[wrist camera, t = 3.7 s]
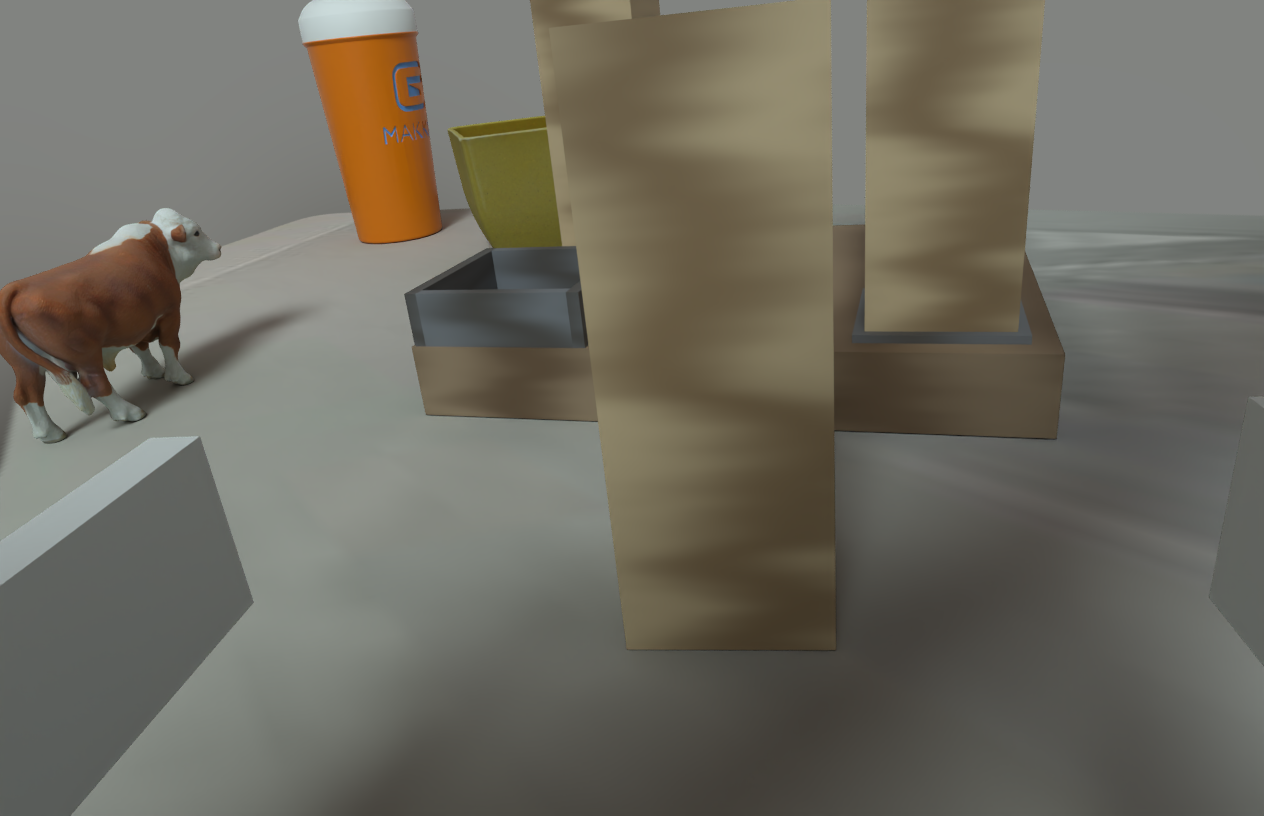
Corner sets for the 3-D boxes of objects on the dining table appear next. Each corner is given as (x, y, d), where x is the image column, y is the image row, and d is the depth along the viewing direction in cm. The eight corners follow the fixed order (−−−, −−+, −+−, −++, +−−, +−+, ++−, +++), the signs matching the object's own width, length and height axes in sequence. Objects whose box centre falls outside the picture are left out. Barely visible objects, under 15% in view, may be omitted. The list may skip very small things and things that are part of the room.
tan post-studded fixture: (1008, 275, 46) (1035, -95, 40) (1056, 438, 29) (1120, -172, 22) (587, 282, 54) (550, -29, 47) (425, 414, 36) (329, -48, 30)
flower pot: (608, 255, 60) (593, 119, 56) (483, 276, 58) (459, 136, 54) (579, 233, 68) (564, 112, 64) (467, 251, 66) (446, 127, 62)
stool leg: (820, 536, 25) (812, 2, 20) (836, 650, 20) (830, -4, 15) (649, 539, 26) (594, 27, 20) (626, 649, 21) (549, 27, 16)
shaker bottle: (329, 250, 71) (265, -20, 64) (372, 226, 79) (320, -15, 72) (433, 242, 70) (381, -34, 62) (466, 219, 78) (423, -28, 70)
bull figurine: (264, 347, 48) (222, 198, 45) (85, 458, 36) (10, 264, 33) (194, 350, 49) (148, 203, 46) (-4, 459, 37) (-86, 271, 33)
